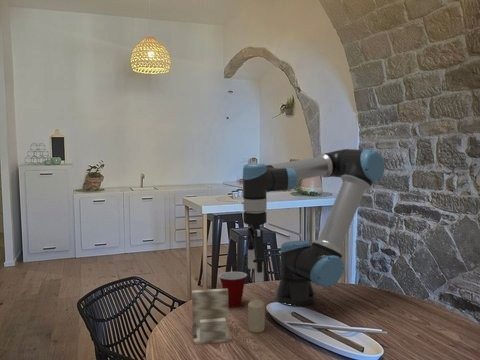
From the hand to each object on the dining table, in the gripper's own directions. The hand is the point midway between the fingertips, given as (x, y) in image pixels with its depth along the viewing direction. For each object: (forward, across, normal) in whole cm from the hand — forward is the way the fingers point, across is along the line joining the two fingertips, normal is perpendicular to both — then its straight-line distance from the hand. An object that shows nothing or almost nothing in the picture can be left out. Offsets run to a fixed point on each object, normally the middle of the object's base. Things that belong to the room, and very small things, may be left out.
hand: (255, 274), depth 136 cm
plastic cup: (+19, -22, -5) cm, 29 cm away
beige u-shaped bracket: (+19, +1, -15) cm, 24 cm away
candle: (+19, 0, 0) cm, 19 cm away
